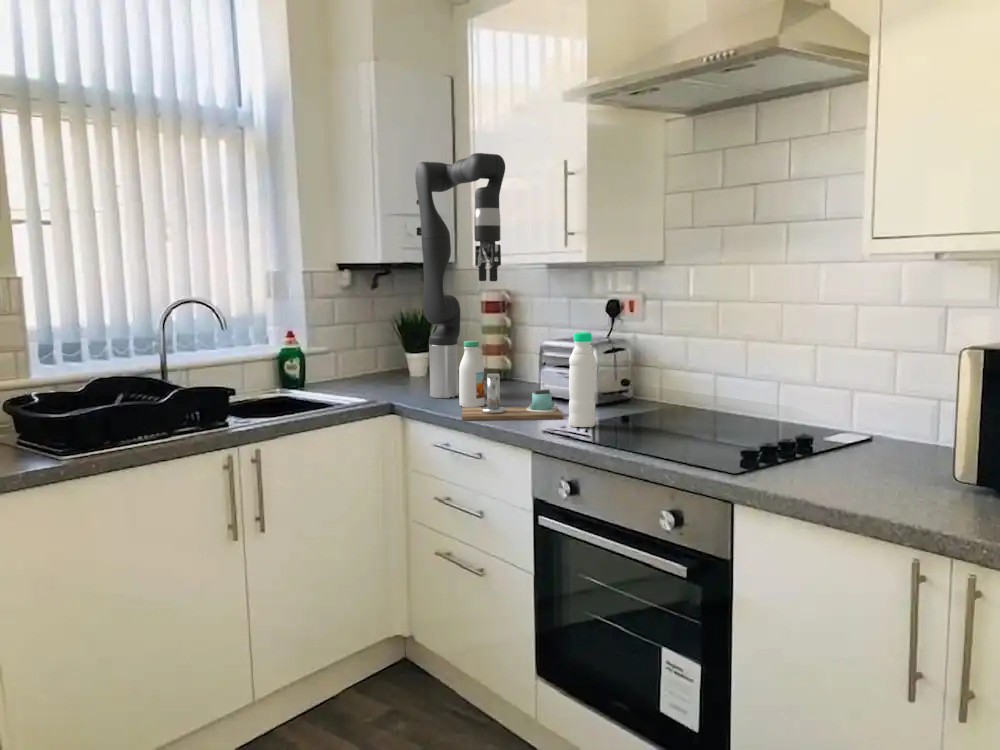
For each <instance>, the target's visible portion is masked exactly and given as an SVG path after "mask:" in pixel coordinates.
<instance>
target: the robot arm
mask: <svg viewBox="0 0 1000 750" xmlns="http://www.w3.org/2000/svg"><path fill="white" fill-rule="evenodd" d="M505 162H506V161H505V160H504V158H503V157H502V155H500V154H497V153H486V152H485V153H483V152H476V153H472V154H470V155H469V156H468V157H465V158H461V159H458V160H456V161H455V162H454V163H453V164H450V163H444V162H435V161H433V162H432V161H421V162H419V163H417V166H416V168H415V175H414V176H415V179H414V180H415V185H416V186H415V187H416V195H417V201H418V208H419V215H420V234H421V237H420V238H421V253H422V261H423V262H422V263H423V265H422V266H423V303H422V306H423V308H422V309H423V313H424V316H425V319H426V320H427V322H429V323H430V324H432V325H436V329H435V330H434V332H433V333H432V334H430V336H429V338H428V347H429V348H428V349H429V350H428V351H429V352H428V353H429V355H428V356H429V396H430V398H434V399H435V398H436V399H450V397H452V398H456V397H455V396H457V397H459V367H458V366H459V364H458V363H459V362H458V340H459V336H460V334H461V333H460V332H461V330H460V329H461V307H460V302H459V300H458V299H457V298H456V296H453V295H452V294H444V279H445V278H444V277H445V273H446V270H447V267H448V265H449V262H450V258H451V255H452V247H451V245H452V244H451V234H450V230H449V227H448V226H447V225H446V222H445V221H444V220H443V218H442V217H441V215H440V213H439V212H438V210H437V207H436V206H435V203H434V202H435V201H434V198H433V193H442V192H446V191H448V190H451V189H453V188H454V187H456V186H459V185H461V184H466V183H467V184H468V183H472V182H473V183H474V182H477V181H479V180H480V179H482V180H488V182H487V185H486V186H482V187H478V188H476V189H475V192H474V206H475V207H474V217H473V219H474V242H479V245H475V247H474V249H475V250H474V251H475V252H474V253H475V254H474V255H475V256H474V258H475V259H474V260H475V261H474V265H475V267H477V269H478V281H479V282H486V281H487V265H488V268H489V269H488V271H489V276H488V278H489V279H488V280H489V282H498V268H499V266H501V265H502V256H501V254H502V251H501V250H502V249H501V248H502V247H501V244H496V242H500V241H501V212H500V193H501V189H502V185H503V181H504V177H505V172H506V163H505Z"/></svg>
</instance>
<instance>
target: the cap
mask: <svg viewBox="0 0 1000 750" xmlns="http://www.w3.org/2000/svg"><path fill="white" fill-rule="evenodd" d="M531 399H532V400H531V404H529V406H530V409H534V410H550V409H552V408H553V407H554V406H555V403H554V402H552V392H551V390H550V389H535V390H533V392H532V394H531Z"/></svg>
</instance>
